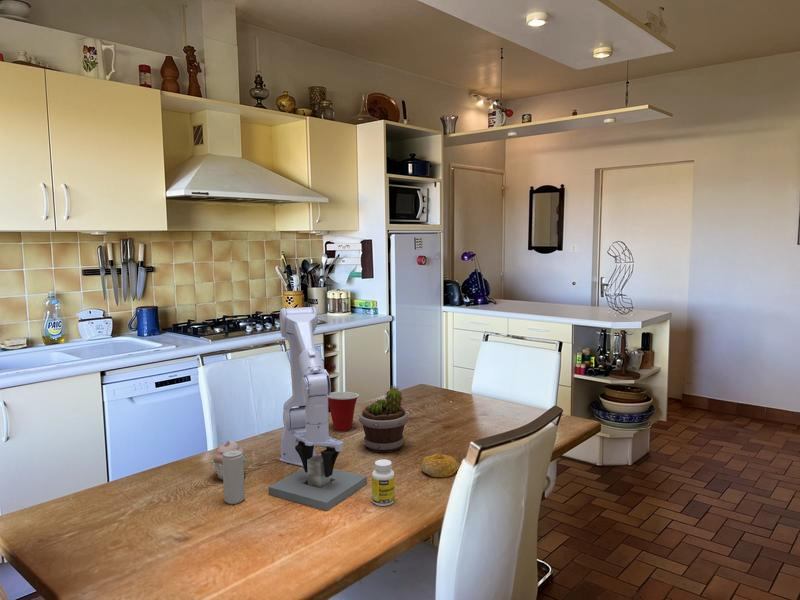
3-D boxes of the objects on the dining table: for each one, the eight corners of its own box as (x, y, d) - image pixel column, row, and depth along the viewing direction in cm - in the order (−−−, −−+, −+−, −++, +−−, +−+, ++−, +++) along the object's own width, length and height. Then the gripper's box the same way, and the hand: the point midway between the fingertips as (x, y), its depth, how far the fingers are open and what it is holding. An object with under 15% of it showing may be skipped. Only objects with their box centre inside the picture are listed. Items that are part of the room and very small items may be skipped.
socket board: (268, 494, 142) (268, 486, 142) (312, 470, 157) (312, 463, 156) (326, 511, 133) (326, 502, 133) (367, 483, 148) (367, 476, 147)
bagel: (466, 469, 156) (466, 452, 156) (442, 483, 148) (442, 465, 148) (437, 461, 163) (437, 444, 162) (413, 473, 155) (412, 456, 154)
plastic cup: (365, 426, 193) (365, 392, 191) (346, 436, 184) (345, 399, 182) (340, 421, 199) (339, 387, 197) (320, 430, 189) (319, 395, 188)
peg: (308, 490, 144) (307, 459, 143) (318, 484, 148) (317, 454, 147) (320, 493, 142) (319, 462, 141) (330, 487, 146) (329, 457, 145)
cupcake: (205, 476, 153) (203, 440, 152) (236, 466, 160) (235, 431, 159) (223, 486, 147) (222, 448, 146) (255, 475, 154) (253, 439, 153)
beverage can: (239, 505, 136) (237, 457, 135) (220, 504, 137) (218, 455, 136) (248, 497, 141) (246, 449, 140) (230, 495, 142) (228, 448, 141)
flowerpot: (351, 452, 169) (349, 386, 167) (373, 436, 183) (372, 375, 181) (396, 459, 164) (395, 391, 162) (415, 441, 178) (414, 378, 176)
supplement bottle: (378, 508, 134) (377, 468, 133) (368, 499, 139) (367, 460, 138) (398, 503, 136) (398, 464, 135) (388, 494, 141) (388, 456, 140)
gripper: (284, 421, 143) (285, 473, 145) (330, 430, 136) (332, 485, 137) (302, 413, 149) (303, 463, 151) (347, 422, 142) (349, 474, 143)
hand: (318, 473), depth 144 cm, fingers open, 6 cm apart
